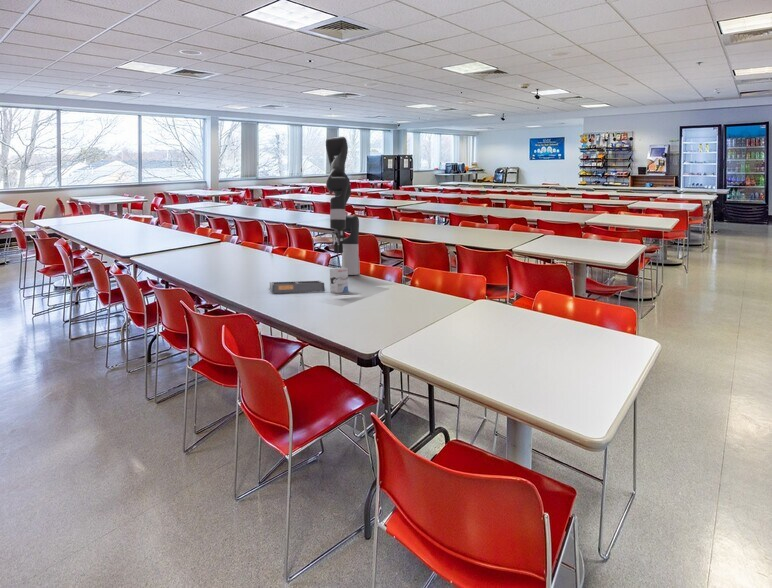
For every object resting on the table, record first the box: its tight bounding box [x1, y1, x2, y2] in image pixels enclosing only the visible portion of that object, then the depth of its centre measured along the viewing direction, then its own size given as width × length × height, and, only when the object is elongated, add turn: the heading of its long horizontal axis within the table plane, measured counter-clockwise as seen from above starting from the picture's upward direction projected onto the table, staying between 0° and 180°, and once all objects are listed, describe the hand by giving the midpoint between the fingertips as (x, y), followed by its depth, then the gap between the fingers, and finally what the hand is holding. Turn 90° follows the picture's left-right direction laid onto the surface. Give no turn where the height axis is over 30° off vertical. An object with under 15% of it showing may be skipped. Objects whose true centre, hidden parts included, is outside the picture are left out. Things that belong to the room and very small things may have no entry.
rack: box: [269, 280, 325, 295], centre depth 238 cm, size 25×14×4 cm, turn 109°
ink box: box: [329, 267, 349, 294], centre depth 234 cm, size 8×5×12 cm, turn 145°
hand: (338, 252), depth 233 cm, fingers open, 8 cm apart
